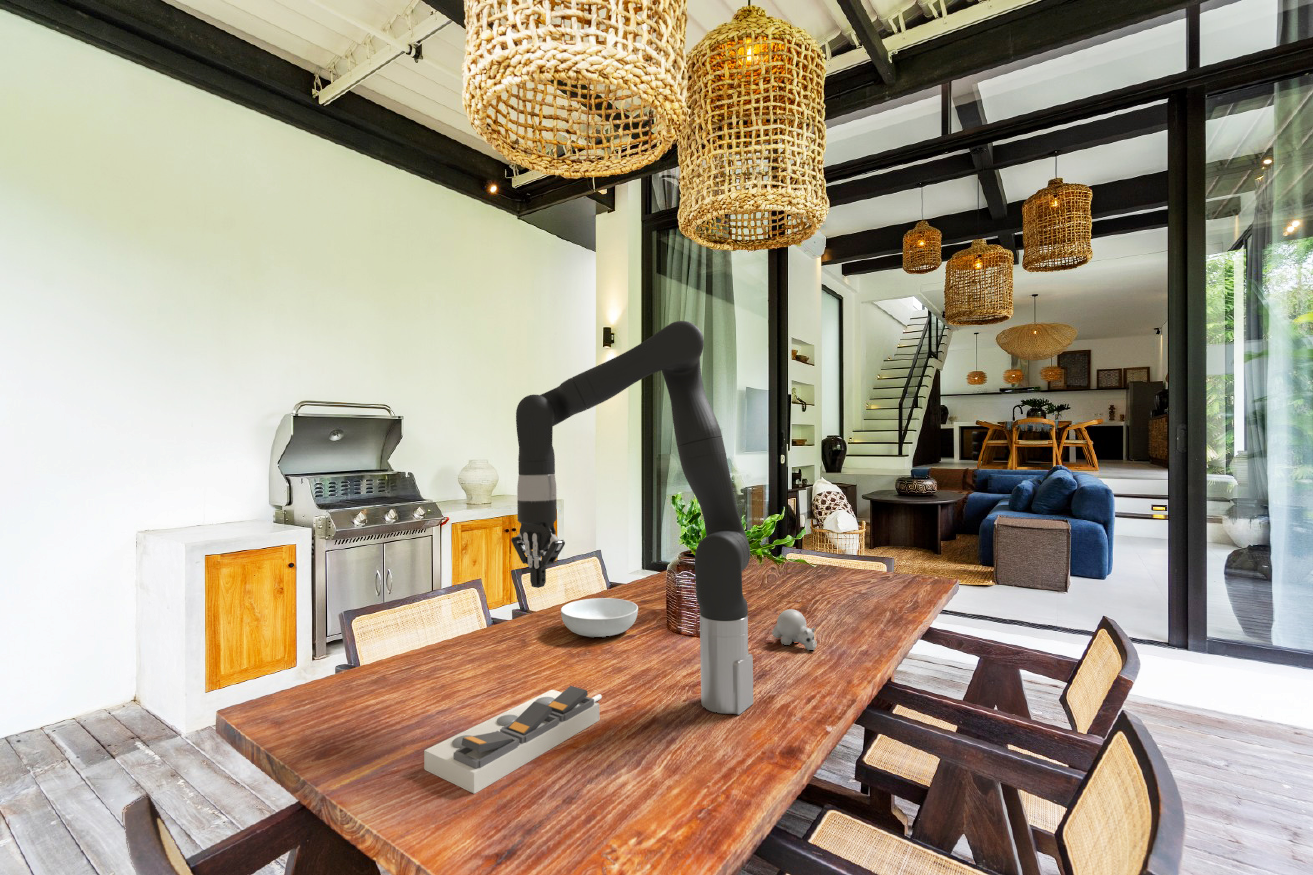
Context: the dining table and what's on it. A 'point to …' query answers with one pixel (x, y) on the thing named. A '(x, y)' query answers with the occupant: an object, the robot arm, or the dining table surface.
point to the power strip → (494, 764)
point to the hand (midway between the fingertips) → (538, 586)
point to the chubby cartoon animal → (794, 629)
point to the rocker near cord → (568, 700)
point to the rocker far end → (486, 741)
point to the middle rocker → (530, 718)
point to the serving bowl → (599, 616)
